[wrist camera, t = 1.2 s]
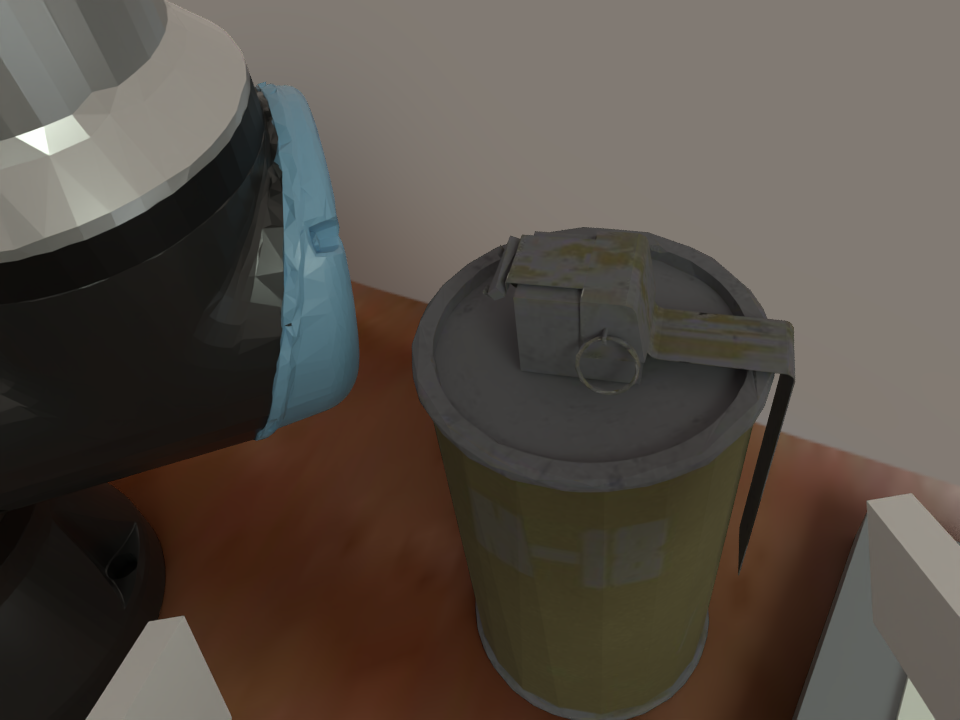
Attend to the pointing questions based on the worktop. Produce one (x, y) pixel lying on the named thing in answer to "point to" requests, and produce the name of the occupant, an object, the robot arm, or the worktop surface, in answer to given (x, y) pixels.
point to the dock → (857, 657)
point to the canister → (598, 453)
